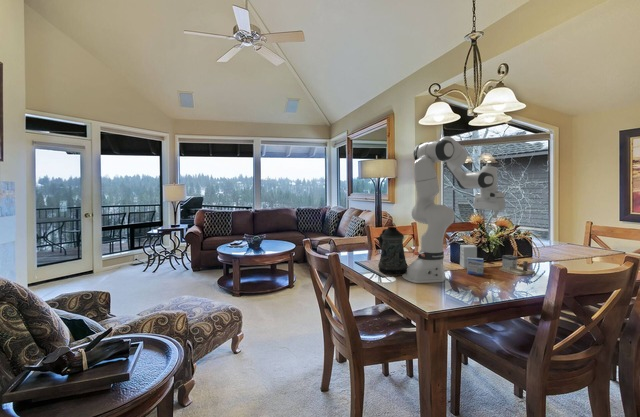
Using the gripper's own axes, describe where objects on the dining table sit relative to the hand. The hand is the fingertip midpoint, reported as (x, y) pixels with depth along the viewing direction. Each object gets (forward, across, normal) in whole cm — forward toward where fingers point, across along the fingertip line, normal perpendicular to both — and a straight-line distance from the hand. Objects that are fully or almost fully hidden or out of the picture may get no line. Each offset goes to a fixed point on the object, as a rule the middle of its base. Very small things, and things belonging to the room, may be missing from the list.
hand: (488, 217), depth 192 cm
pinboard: (+29, +16, +5) cm, 34 cm away
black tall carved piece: (+29, -11, -59) cm, 67 cm away
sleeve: (+28, +13, +3) cm, 31 cm away
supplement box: (+29, -2, -12) cm, 32 cm away
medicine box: (+29, +11, -19) cm, 37 cm away
